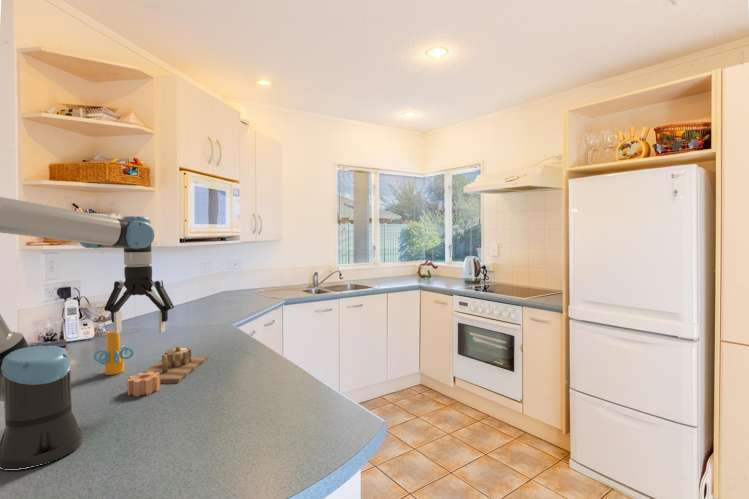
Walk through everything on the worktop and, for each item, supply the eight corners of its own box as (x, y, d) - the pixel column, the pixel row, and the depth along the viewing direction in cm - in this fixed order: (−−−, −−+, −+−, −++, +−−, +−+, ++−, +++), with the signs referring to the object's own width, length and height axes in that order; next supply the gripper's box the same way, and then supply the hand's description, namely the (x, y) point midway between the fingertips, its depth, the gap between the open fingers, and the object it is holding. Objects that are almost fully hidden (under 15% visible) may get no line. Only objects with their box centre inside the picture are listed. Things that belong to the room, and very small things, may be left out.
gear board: (178, 382, 132) (178, 361, 132) (130, 383, 132) (129, 362, 131) (207, 359, 156) (206, 341, 156) (166, 360, 156) (165, 342, 155)
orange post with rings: (112, 379, 136) (110, 336, 135) (87, 377, 138) (85, 335, 137) (140, 367, 147) (138, 327, 147) (116, 365, 150) (115, 326, 149)
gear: (150, 395, 122) (150, 381, 121) (121, 396, 121) (121, 382, 121) (165, 384, 131) (165, 371, 130) (138, 385, 130) (137, 371, 130)
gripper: (183, 264, 129) (185, 328, 130) (105, 264, 128) (107, 329, 129) (173, 266, 121) (174, 334, 122) (89, 266, 120) (91, 335, 121)
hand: (140, 332), depth 125 cm, fingers open, 13 cm apart
